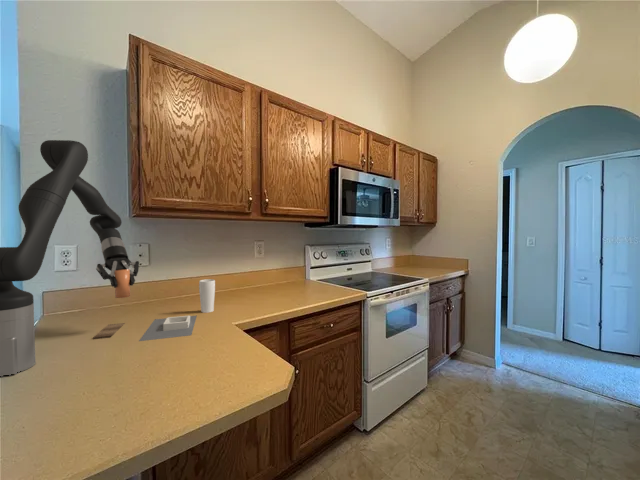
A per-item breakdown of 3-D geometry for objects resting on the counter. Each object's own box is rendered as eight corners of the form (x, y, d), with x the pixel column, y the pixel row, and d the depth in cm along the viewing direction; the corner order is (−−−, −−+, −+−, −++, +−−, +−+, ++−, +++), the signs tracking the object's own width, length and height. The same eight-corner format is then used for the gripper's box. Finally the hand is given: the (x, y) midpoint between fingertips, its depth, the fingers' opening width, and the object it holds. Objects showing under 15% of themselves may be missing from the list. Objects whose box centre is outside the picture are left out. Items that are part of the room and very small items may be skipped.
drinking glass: (196, 313, 126) (195, 281, 126) (208, 310, 132) (208, 278, 132) (206, 316, 123) (206, 282, 123) (218, 312, 129) (218, 279, 129)
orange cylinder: (128, 297, 104) (127, 270, 104) (113, 298, 103) (112, 271, 102) (131, 294, 109) (131, 269, 108) (117, 295, 107) (117, 269, 107)
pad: (140, 334, 102) (139, 332, 102) (93, 339, 97) (93, 337, 97) (149, 322, 115) (149, 320, 115) (108, 326, 110) (108, 324, 110)
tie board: (191, 338, 98) (191, 328, 98) (138, 344, 93) (138, 333, 93) (196, 317, 121) (196, 309, 121) (154, 321, 116) (154, 313, 115)
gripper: (93, 245, 104) (102, 281, 97) (136, 244, 115) (148, 276, 108) (90, 258, 108) (98, 294, 101) (133, 256, 119) (143, 288, 111)
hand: (124, 285), depth 104 cm, fingers closed on orange cylinder, 4 cm apart
